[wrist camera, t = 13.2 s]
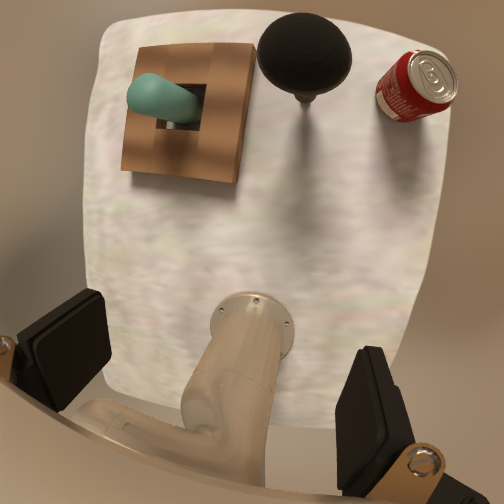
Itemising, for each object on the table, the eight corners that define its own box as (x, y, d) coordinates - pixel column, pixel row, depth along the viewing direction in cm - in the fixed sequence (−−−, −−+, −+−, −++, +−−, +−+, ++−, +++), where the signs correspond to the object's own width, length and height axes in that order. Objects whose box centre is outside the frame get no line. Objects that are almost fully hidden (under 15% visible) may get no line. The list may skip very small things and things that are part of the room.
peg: (202, 126, 36) (160, 114, 25) (172, 124, 37) (123, 114, 25) (206, 95, 35) (167, 71, 24) (176, 94, 35) (130, 74, 24)
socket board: (237, 181, 38) (231, 183, 35) (132, 169, 40) (120, 170, 37) (256, 51, 32) (252, 43, 29) (149, 53, 34) (139, 47, 31)
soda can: (386, 128, 32) (419, 116, 21) (365, 80, 31) (389, 49, 20) (428, 117, 30) (473, 103, 19) (409, 70, 29) (445, 41, 18)
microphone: (317, 67, 31) (325, -16, 13) (341, 112, 33) (378, 63, 14) (268, 87, 33) (230, 18, 14) (292, 133, 35) (278, 101, 16)
